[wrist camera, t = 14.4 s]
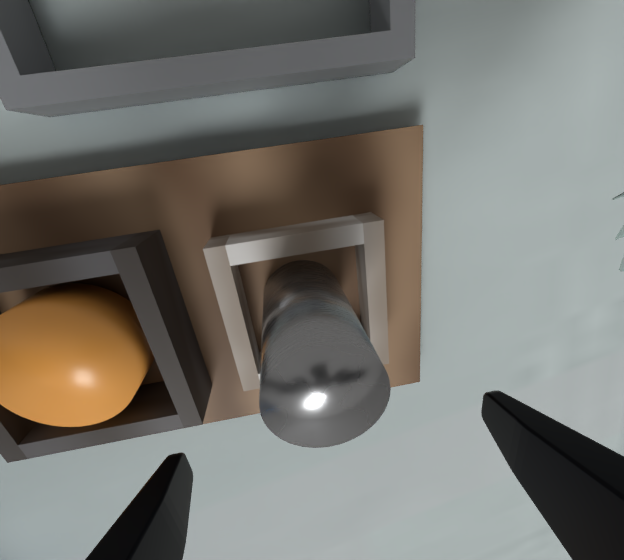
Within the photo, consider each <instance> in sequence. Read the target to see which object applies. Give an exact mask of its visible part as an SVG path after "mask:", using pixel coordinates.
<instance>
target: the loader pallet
mask: <svg viewBox="0 0 624 560" xmlns="http://www.w3.org/2000/svg"><path fill="white" fill-rule="evenodd" d="M422 172H423V125H418V126H411V127H404V128H397V129H390V130H383V131H376V132H369V133H362V134H355V135H348V136H341V137H334V138H327V139H320V140H313V141H306V142H299V143H292V144H285V145H278V146H271V147H264V148H257V149H250V150H243V151H236V152H229V153H222V154H215V155H208V156H201V157H194V158H187V159H180V160H173V161H166V162H158V163H151V164H144V165H137V166H130V167H123V168H116V169H109V170H102V171H95V172H88V173H81V174H74V175H67V176H60V177H53V178H46V179H39V180H32V181H25V182H18V183H11V184H4V185H0V315H1V314H2V313H4V312H6V311H7V310H9V309H11V308H12V307H14V306H16V305H17V304H19V303H21V302H22V301H24V300H26V299H27V298H29V297H31V296H32V295H34V294H36V293H37V292H39V291H41V290H43V289H46V288H48V287H51V286H55V285H60V284H68V283H81V284H89V285H94V286H98V287H102V288H105V289H108V290H110V291H112V292H115V293H117V294H119V295H121V296H122V297H124V298H126V299H127V300H129V301H130V302H131V303H132V305H133V308H134V310H135V312H136V315H137V317H138V320H139V322H140V324H141V327H142V329H143V332H144V334H145V336H146V339H147V341H148V344H149V346H150V348H151V351H152V353H153V356H154V361H153V363H152V365H151V367H150V368H149V370H148V372H147V374H146V376H145V377H144V379H143V381H142V383H141V384H140V386H139V388H138V390H137V392H136V393H135V395H134V397H133V399H132V400H131V402H130V403H129V404H128V406H127V407H126V408H125V409H124V410H122V411H121V412H120V413H118V414H117V415H115V416H114V417H112V418H110V419H108V420H106V421H103V422H100V423H97V424H93V425H87V426H80V427H61V426H52V425H47V424H42V423H39V422H35V421H32V420H29V419H26V418H24V417H21V416H19V415H17V414H15V413H13V412H11V411H10V410H8V409H6V408H5V407H3V406H2V405H1V404H0V454H1V455H2V456H3V458H4V459H5V460H6V461H7V463H8V462H14V461H19V460H24V459H29V458H34V457H39V456H44V455H49V454H54V453H59V452H65V451H70V450H75V449H80V448H85V447H90V446H95V445H100V444H105V443H110V442H116V441H121V440H126V439H131V438H136V437H141V436H146V435H151V434H156V433H161V432H167V431H172V430H177V429H182V428H187V427H192V426H197V425H202V424H206V423H211V422H216V421H222V420H227V419H232V418H237V417H242V416H247V415H252V414H257V413H260V408H259V392H260V368H261V343H262V318H263V294H264V288H265V285H266V283H267V281H268V279H269V277H270V276H271V275H272V274H273V272H275V271H276V270H277V269H278V268H279V267H281V266H283V265H285V264H286V263H289V262H292V261H297V260H310V261H315V262H318V263H320V264H322V265H324V266H326V267H327V268H328V269H329V270H330V271H331V272H332V273H333V274H334V275H335V277H336V279H337V281H338V282H339V284H340V286H341V288H342V290H343V292H344V293H345V295H346V297H347V299H348V301H349V303H350V305H351V306H352V308H353V310H354V312H355V314H356V316H357V318H358V319H359V321H360V323H361V325H362V327H363V329H364V330H365V332H366V334H367V336H368V338H369V340H370V342H371V343H372V345H373V347H374V349H375V351H376V353H377V354H378V356H379V358H380V360H381V362H382V364H383V366H384V367H385V369H386V371H387V373H388V376H389V380H390V387H395V386H400V385H405V384H410V383H415V382H420V320H421V246H422Z"/></svg>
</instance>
